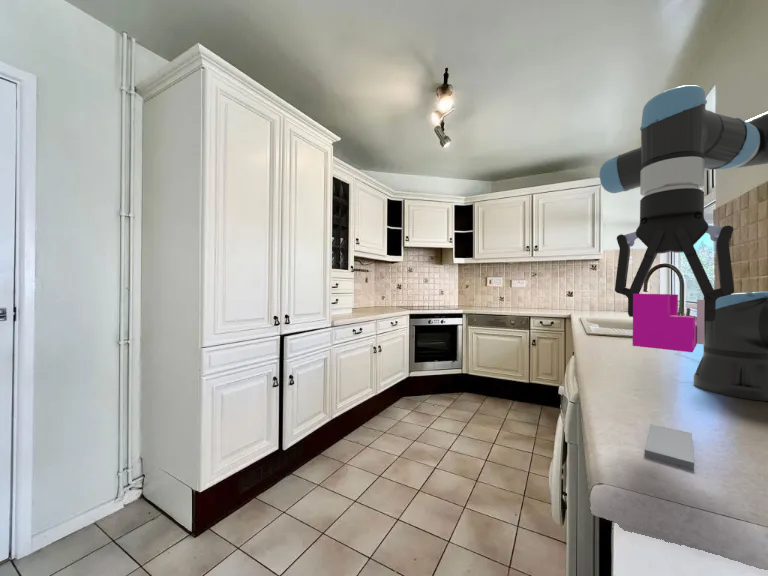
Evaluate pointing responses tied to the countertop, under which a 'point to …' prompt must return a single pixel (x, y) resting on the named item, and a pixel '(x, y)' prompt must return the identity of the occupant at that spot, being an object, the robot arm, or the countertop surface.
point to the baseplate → (670, 446)
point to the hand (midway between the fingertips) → (668, 339)
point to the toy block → (662, 323)
